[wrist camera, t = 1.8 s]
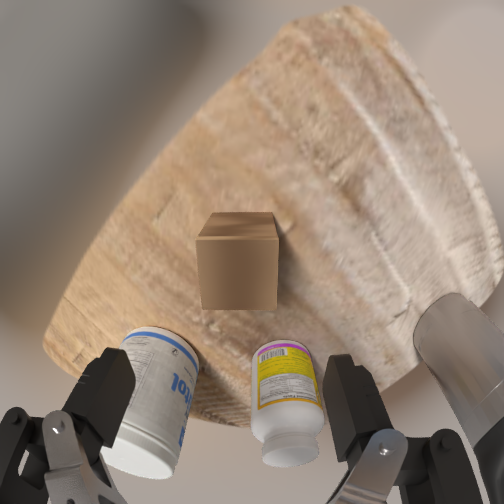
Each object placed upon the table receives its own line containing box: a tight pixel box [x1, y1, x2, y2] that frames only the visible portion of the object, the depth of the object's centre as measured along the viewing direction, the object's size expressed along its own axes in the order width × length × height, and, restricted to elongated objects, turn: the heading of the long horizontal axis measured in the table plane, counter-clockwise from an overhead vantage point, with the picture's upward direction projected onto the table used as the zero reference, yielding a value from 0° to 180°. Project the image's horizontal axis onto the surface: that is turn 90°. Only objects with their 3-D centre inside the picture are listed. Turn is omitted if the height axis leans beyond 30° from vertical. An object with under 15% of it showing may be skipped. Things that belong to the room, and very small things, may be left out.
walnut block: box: [195, 212, 279, 310], centre depth 20 cm, size 5×5×7 cm
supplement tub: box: [100, 327, 199, 479], centre depth 22 cm, size 10×10×15 cm
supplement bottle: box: [251, 340, 324, 467], centre depth 23 cm, size 7×7×13 cm
